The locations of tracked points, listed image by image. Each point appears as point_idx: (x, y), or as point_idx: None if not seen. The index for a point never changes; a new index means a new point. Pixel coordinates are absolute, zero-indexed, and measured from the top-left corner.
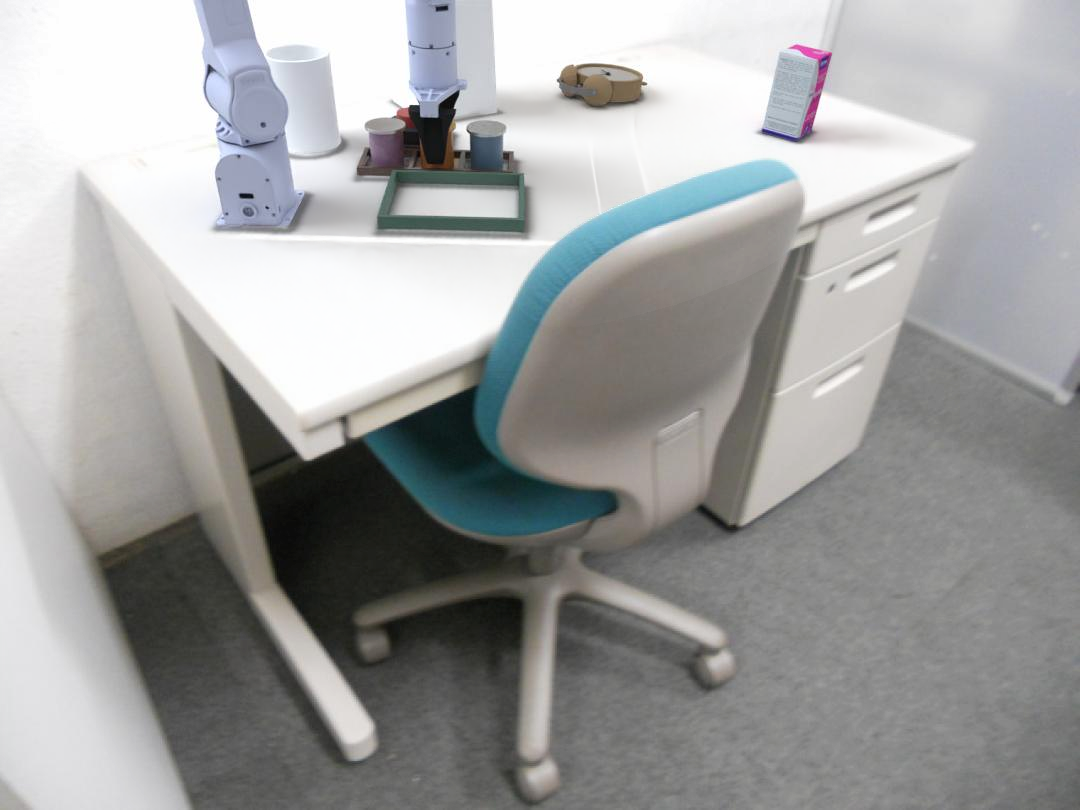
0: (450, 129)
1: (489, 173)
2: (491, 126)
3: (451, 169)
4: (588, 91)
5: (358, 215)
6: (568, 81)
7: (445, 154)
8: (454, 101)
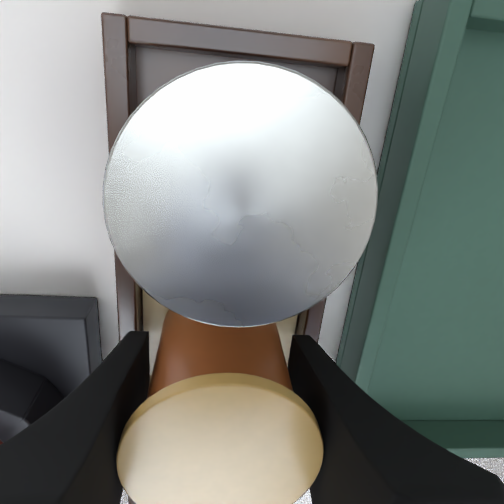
0: (297, 402)
1: (425, 165)
2: (231, 178)
3: (321, 301)
4: None
5: (479, 462)
6: None
7: (319, 350)
8: (75, 484)
